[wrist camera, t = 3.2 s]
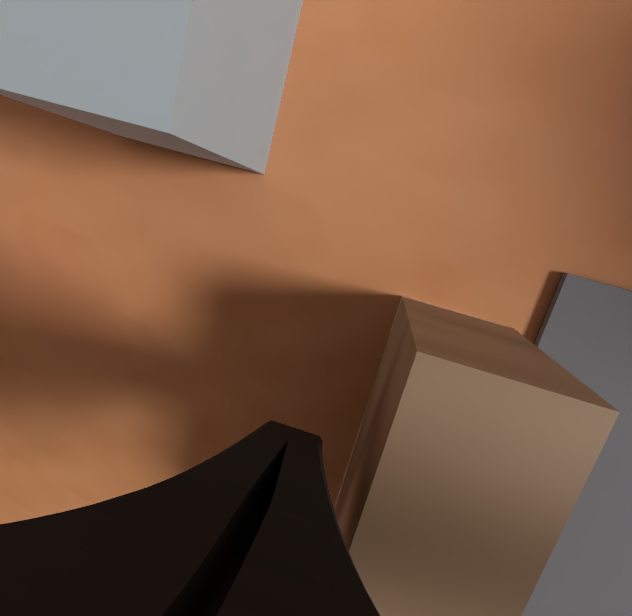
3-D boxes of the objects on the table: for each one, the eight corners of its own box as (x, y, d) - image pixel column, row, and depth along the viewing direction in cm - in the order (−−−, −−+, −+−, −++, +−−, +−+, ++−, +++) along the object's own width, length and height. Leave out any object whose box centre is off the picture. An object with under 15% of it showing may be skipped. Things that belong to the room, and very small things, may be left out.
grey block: (264, 174, 13) (169, 132, 7) (121, 136, 13) (-77, 68, 8) (303, -1, 12) (228, -220, 6) (145, -36, 12) (-65, -268, 7)
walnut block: (429, 535, 15) (460, 741, 9) (335, 503, 15) (304, 679, 9) (512, 327, 13) (620, 412, 7) (402, 295, 13) (416, 351, 7)
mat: (631, 661, 14) (637, 670, 14) (432, 589, 15) (433, 597, 15) (818, 341, 11) (829, 344, 11) (563, 272, 12) (567, 273, 12)
